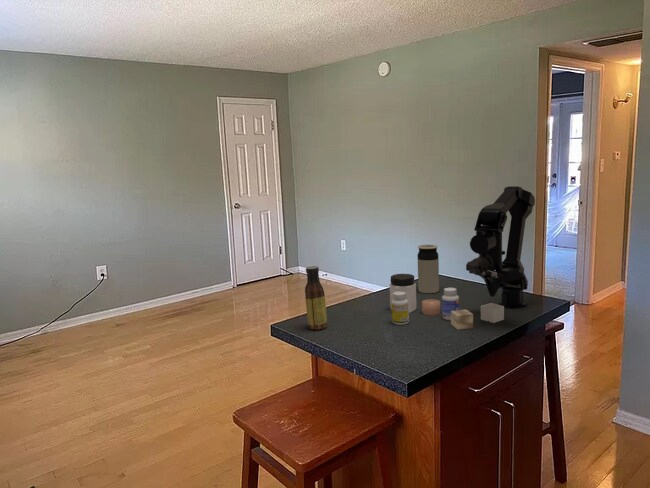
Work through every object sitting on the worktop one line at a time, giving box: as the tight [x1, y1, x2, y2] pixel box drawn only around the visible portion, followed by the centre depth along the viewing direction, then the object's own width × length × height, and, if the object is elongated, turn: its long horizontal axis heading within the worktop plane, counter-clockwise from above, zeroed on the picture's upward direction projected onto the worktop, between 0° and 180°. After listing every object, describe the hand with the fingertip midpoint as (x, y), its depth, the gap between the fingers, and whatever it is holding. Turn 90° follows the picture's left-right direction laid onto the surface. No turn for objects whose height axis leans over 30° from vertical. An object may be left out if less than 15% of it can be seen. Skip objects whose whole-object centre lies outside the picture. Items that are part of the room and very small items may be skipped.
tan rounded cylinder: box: [421, 298, 441, 317], centre depth 168 cm, size 6×6×4 cm
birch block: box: [450, 309, 474, 330], centre depth 153 cm, size 5×5×4 cm
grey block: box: [480, 302, 505, 324], centre depth 158 cm, size 5×5×4 cm
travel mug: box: [417, 244, 440, 295], centre depth 193 cm, size 8×8×18 cm
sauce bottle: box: [304, 265, 328, 331], centre depth 158 cm, size 6×6×20 cm
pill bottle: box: [441, 287, 460, 321], centre depth 161 cm, size 5×5×10 cm
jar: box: [389, 273, 417, 314], centre depth 172 cm, size 9×8×12 cm
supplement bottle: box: [391, 292, 410, 326], centre depth 159 cm, size 5×5×10 cm
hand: (492, 296), depth 157 cm, fingers closed
